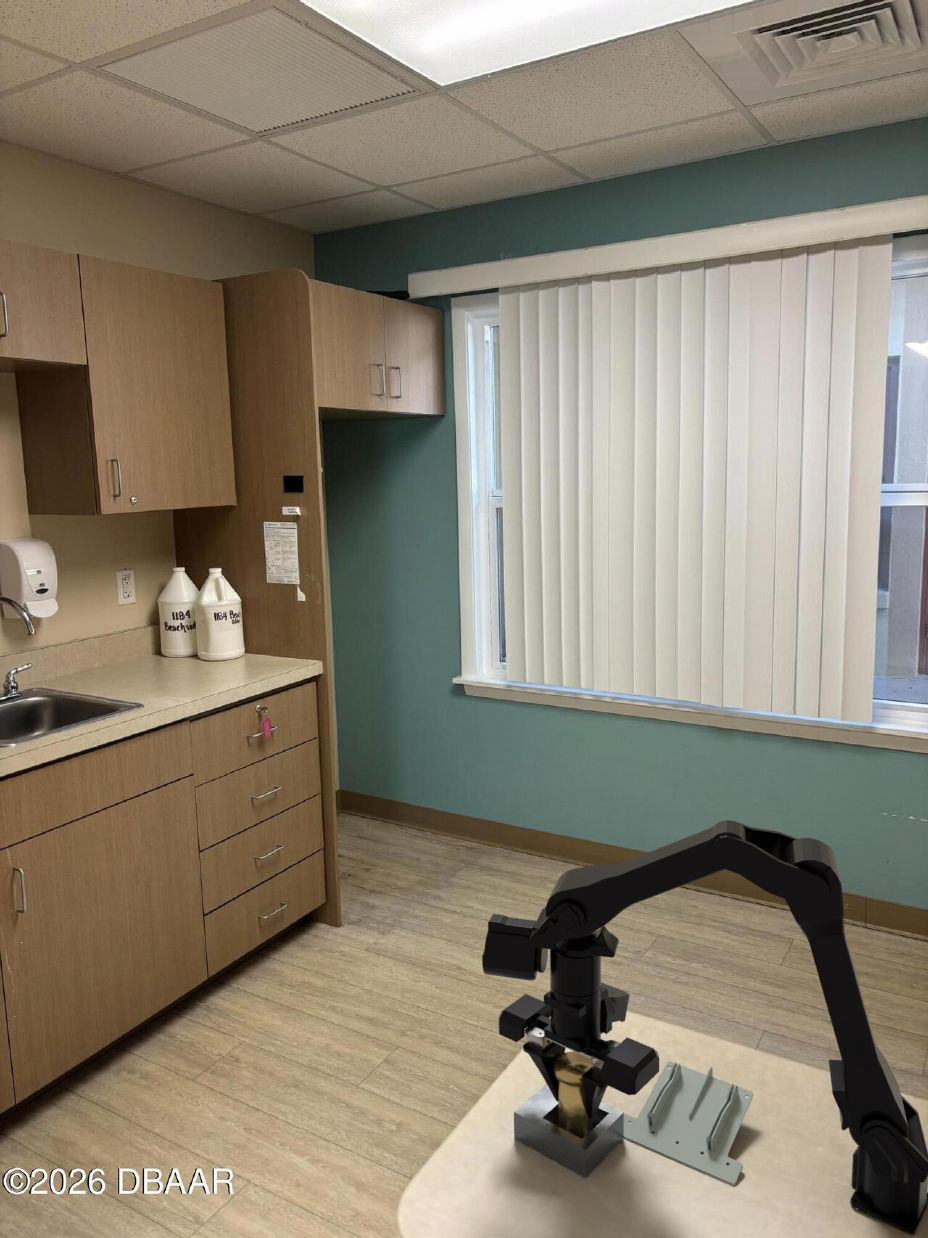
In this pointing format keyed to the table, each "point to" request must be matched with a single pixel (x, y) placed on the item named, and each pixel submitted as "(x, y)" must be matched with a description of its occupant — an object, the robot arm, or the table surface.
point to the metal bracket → (692, 1121)
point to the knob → (573, 1093)
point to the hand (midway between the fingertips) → (576, 1108)
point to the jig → (567, 1133)
